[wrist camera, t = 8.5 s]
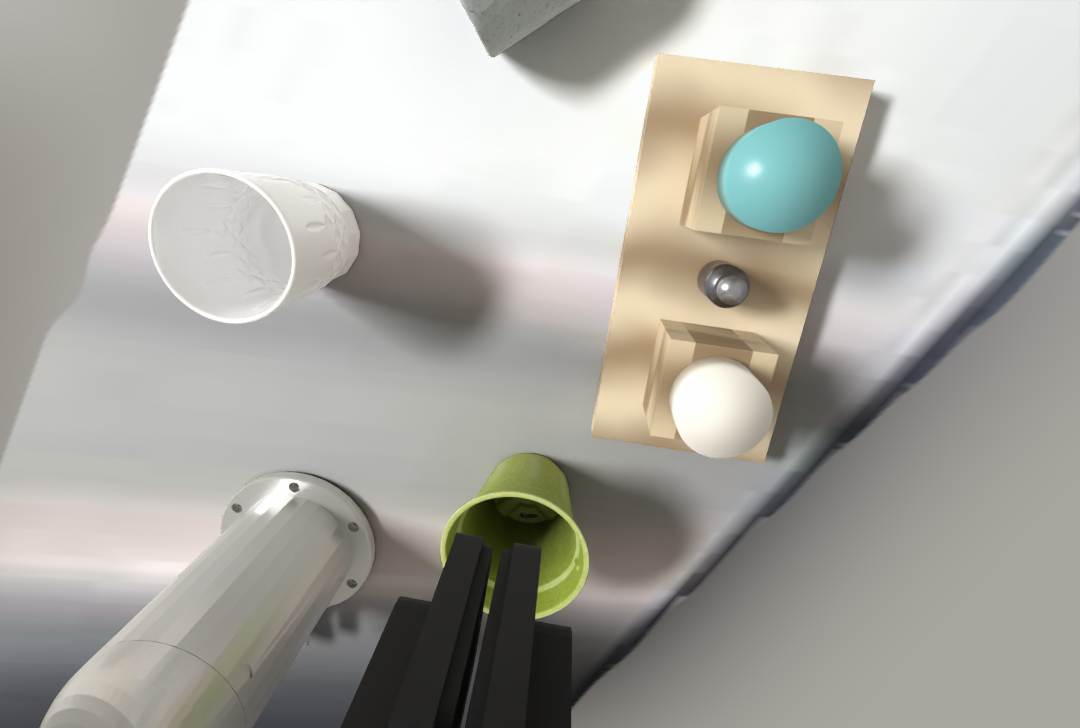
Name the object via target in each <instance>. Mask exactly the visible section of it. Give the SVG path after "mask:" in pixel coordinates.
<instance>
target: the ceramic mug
mask: <svg viewBox="0 0 1080 728" xmlns="http://www.w3.org/2000/svg"><path fill="white" fill-rule="evenodd" d="M460 1H461V3H462V5H463V7H464V9H465V11H466V13H467V15H468V16H469V18H470V20H471V21H472V23H473V25H474V27H475V29H476V32H477V34H478V35H479V37H480V39H481V41H482V43H483V45H484V47H485V49H486V51H487V53H488V55H489V56H491V57H496V56H497V55H499V54H500V53H502V52H503V51H505V50H506V49H507V48H509V47H510V46H512V45H513V44H515V43H516V42H518V41H519V40H521V39H523V38H524V37H526V36H527V35H529V34H530V33H532V32H533V31H535V30H536V29H538V28H540V27H541V26H542V25H544V24H545V23H547V22H548V21H549V20H551V19H552V18H554V17H555V16H557V15H558V14H560V13H561V12H563V11H564V10H566V9H567V8H569V7H571V6H572V5H574V4H576V3H577V2H579V1H581V0H460Z"/></svg>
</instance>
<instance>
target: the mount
mask: <svg viewBox="0 0 1080 728" xmlns="http://www.w3.org/2000/svg"><path fill="white" fill-rule="evenodd" d="M874 82H875V80H868V79H860V78H852V77H844V76H836V75H828V74H820V73H812V72H804V71H796V70H788V69H780V68H772V67H764V66H756V65H748V64H740V63H732V62H724V61H716V60H708V59H700V58H692V57H684V56H676V55H668V54H661V53H659V54H658V56H657V58H656V60H655V63H654V69H653V75H652V81H651V86H650V92H649V98H648V104H647V109H646V115H645V121H644V127H643V132H642V138H641V144H640V150H639V155H638V161H637V167H636V173H635V178H634V184H633V190H632V196H631V201H630V207H629V213H628V219H627V224H626V230H625V236H624V242H623V247H622V253H621V259H620V265H619V270H618V276H617V282H616V288H615V294H614V299H613V305H612V311H611V317H610V322H609V328H608V334H607V340H606V345H605V351H604V357H603V363H602V368H601V374H600V380H599V386H598V391H597V397H596V403H595V409H594V414H593V420H592V437H596V438H603V439H609V440H616V441H622V442H629V443H636V444H642V445H649V446H655V447H662V448H668V449H675V450H681V451H688V452H694V453H697V452H696V451H694V450H693V449H691V448H690V447H689V446H688V445H687V444H686V443H685V442H684V441H683V439H682V438H681V436H680V434H679V432H678V430H677V427H676V424H675V422H674V419H673V416H672V414H671V410H670V406H669V394H670V389H671V386H672V384H673V382H674V380H675V378H676V377H677V375H678V374H679V373H680V372H681V371H682V370H683V369H684V368H685V367H687V366H688V365H689V364H691V363H693V362H695V361H697V360H699V359H703V358H707V357H716V356H719V357H726V358H731V359H733V360H736V361H738V362H740V363H741V364H743V365H744V366H745V367H747V368H748V369H749V370H750V372H751V373H752V374H753V375H754V376H755V377H756V378H757V379H758V381H759V382H760V383H761V384H762V385H763V386H764V388H765V389H766V390H767V392H768V394H769V396H770V398H771V401H772V405H773V418H772V423H771V426H770V428H769V430H768V432H767V434H766V435H765V437H764V438H763V439H762V441H761V442H760V443H759V444H758V445H756V446H755V447H754V448H752V449H751V450H749V451H748V452H746V453H744V454H741V455H738V456H735V457H730V458H733V459H740V460H746V461H753V462H760V463H764V461H765V458H766V454H767V451H768V447H769V444H770V440H771V437H772V433H773V430H774V427H775V423H776V420H777V416H778V413H779V409H780V406H781V402H782V399H783V396H784V392H785V389H786V385H787V382H788V378H789V375H790V371H791V368H792V365H793V361H794V358H795V354H796V351H797V347H798V344H799V340H800V337H801V334H802V330H803V327H804V323H805V320H806V316H807V313H808V309H809V306H810V303H811V299H812V296H813V292H814V289H815V285H816V282H817V278H818V275H819V272H820V268H821V265H822V261H823V258H824V254H825V251H826V247H827V244H828V240H829V237H830V234H831V230H832V227H833V223H834V220H835V216H836V213H837V209H838V206H839V203H840V199H841V196H842V192H843V189H844V185H845V182H846V178H847V175H848V172H849V168H850V165H851V161H852V158H853V154H854V151H855V147H856V144H857V141H858V137H859V134H860V130H861V127H862V123H863V120H864V116H865V113H866V110H867V106H868V103H869V99H870V96H871V92H872V89H873V85H874ZM783 118H803V119H808V120H810V121H813V122H815V123H817V124H819V125H821V126H822V127H823V128H825V129H826V130H827V131H828V132H829V133H830V134H831V135H832V137H833V138H834V140H835V141H836V143H837V145H838V147H839V150H840V153H841V158H842V178H841V183H840V186H839V189H838V192H837V194H836V196H835V198H834V200H833V201H832V203H831V204H830V206H829V207H828V208H827V209H826V211H825V212H824V213H823V214H822V215H821V216H820V217H818V218H817V219H816V220H815V221H813V222H812V223H810V224H808V225H807V226H805V227H803V228H800V229H798V230H795V231H791V232H786V233H771V232H766V231H761V230H757V229H754V228H750V227H747V226H744V225H742V224H740V223H738V222H736V221H735V220H734V219H732V218H731V217H730V216H729V215H728V213H727V212H726V211H725V210H724V208H723V206H722V204H721V202H720V199H719V196H718V192H717V175H718V170H719V166H720V163H721V161H722V158H723V156H724V155H725V153H726V151H727V150H728V148H729V147H730V146H731V145H732V144H733V142H734V141H735V140H736V139H738V138H739V137H740V136H741V135H743V134H744V133H746V132H747V131H749V130H751V129H753V128H756V127H758V126H761V125H764V124H767V123H770V122H773V121H775V120H779V119H783ZM715 260H722V261H726V262H728V263H730V264H732V265H733V266H735V267H737V268H739V269H741V270H742V271H744V272H745V273H746V275H747V276H748V278H749V281H750V290H749V293H748V296H747V297H746V299H745V300H744V301H743V302H742V303H741V304H739V305H737V306H735V307H732V308H721V307H718V306H716V305H715V304H714V303H712V302H711V301H710V300H709V299H708V298H707V297H706V296H705V295H704V294H703V293H702V292H701V291H700V289H699V287H698V283H697V278H698V274H699V272H700V270H701V269H702V267H703V266H705V265H706V264H707V263H709V262H711V261H715Z"/></svg>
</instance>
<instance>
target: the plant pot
mask: <svg viewBox="0 0 1080 728" xmlns="http://www.w3.org/2000/svg"><path fill="white" fill-rule="evenodd" d="M520 513H525V514H532V515H533V514H537V516H536V517H533V518H529V517H522V516H521V515H520ZM457 532H458V533H464V534H469V535H475V536H480V537H484V544H483V545H486V546H492V547H493V554H492V560H491V566H490V572H489V578H488V584H487V590H486V596H485V602H484V608H483V612H485V613H488V614H489V609H490V604H491V600H492V595H493V590H494V585H495V581H496V576H497V571H498V566H499V561H500V557H501V552H502V548H503V549H508V550H513V548H514V543H519V544H524V545H530V546H535V547H541V548H542V552H541V562H540V573H539V583H538V593H537V604H536V614H535V619H538V618H542V617H545V616H548V615H551V614H553V613H555V612H557V611H559V610H561V609H563V608H564V607H565V606H567V605H568V604H569V603H570V602H572V601H573V600H574V599H575V598H576V596H577V595H578V594H579V593H580V591H581V590H582V588H583V586H584V584H585V581H586V578H587V575H588V571H589V552H588V547H587V543H586V540H585V538H584V535H583V533H582V531H581V530H580V528H579V526H578V525H577V523H576V522H575V521H574V518H573V512H572V506H571V500H570V494H569V488H568V483H567V479H566V477H565V475H564V473H563V472H562V471H561V470H560V469H559V468H558V467H557V466H556V465H555V464H554V463H553V462H552V461H551V460H550V459H548V458H546V457H543V456H541V455H537V454H532V453H522V454H516V455H513V456H511V457H509V458H507V459H506V460H504V461H503V462H501V463H500V464H499V465H498V466H497V467H496V468H495V470H494V471H493V472H492V474H491V475H490V477H489V478H488V480H487V481H486V483H485V485H484V486H483V487H482V489H481V490H480V492H479V493H478V495H477V496H476V497H475V498H473V499H471V500H470V501H468V502H466V503H465V504H463V505H462V506H461V507H460V508H459V509H458V510H457V511H456V512H455V513H454V514H453V515H452V517H451V518H450V520H449V521H448V523H447V525H446V527H445V529H444V531H443V534H442V538H441V546H440V552H441V561H442V565H443V568H444V566H445V563H446V560H447V557H448V554H449V552H450V549H451V546H452V543H453V540H454V538H455V535H456V533H457Z"/></svg>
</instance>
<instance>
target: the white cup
mask: <svg viewBox="0 0 1080 728" xmlns="http://www.w3.org/2000/svg"><path fill="white" fill-rule="evenodd" d="M148 236H149V245H150V250H151V254H152V257H153V260H154V263H155V265H156V268H157V270H158V272H159V274H160V275H161V277H162V279H163V280H164V282H165V283H166V285H167V286H168V287H169V289H170V290H171V291H172V292H173V293H174V294H175V296H176V297H177V298H178V299H180V300H181V301H182V302H183V303H184V304H185V305H187V306H188V307H189V308H191V309H192V310H194V311H195V312H197V313H199V314H201V315H203V316H205V317H207V318H210V319H212V320H215V321H219V322H224V323H232V324H242V323H249V322H254V321H257V320H260V319H262V318H264V317H266V316H268V315H270V314H272V313H274V312H276V311H278V310H280V309H282V308H284V307H286V306H288V305H290V304H292V303H294V302H296V301H298V300H300V299H302V298H304V297H306V296H308V295H310V294H312V293H314V292H316V291H317V290H319V289H321V288H323V287H325V286H326V285H327V284H328V283H329V282H331V281H333V280H334V279H336V278H338V277H340V276H342V275H343V274H345V273H347V272H348V270H349V269H350V267H351V266H352V264H353V262H354V261H355V259H356V258H357V256H358V253H359V242H360V230H359V227H358V224H357V221H356V219H355V216H354V213H353V210H352V209H351V208H350V207H349V206H348V205H347V203H346V202H345V201H344V200H343V199H342V198H341V197H340V196H339V194H338V193H337V192H335V191H333V190H330V189H328V188H326V187H324V186H322V185H320V184H317V183H315V182H306V181H300V180H296V179H292V178H287V177H279V176H274V175H267V174H258V173H250V172H241V171H233V170H225V169H217V168H200V169H194V170H191V171H187V172H185V173H183V174H180V175H179V176H177V177H175V178H174V179H172V180H171V181H170V182H169V183H168V184H166V186H165V187H164V188H163V189H162V190H161V191H160V193H159V194H158V196H157V198H156V200H155V202H154V204H153V206H152V209H151V213H150V218H149V226H148Z"/></svg>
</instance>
